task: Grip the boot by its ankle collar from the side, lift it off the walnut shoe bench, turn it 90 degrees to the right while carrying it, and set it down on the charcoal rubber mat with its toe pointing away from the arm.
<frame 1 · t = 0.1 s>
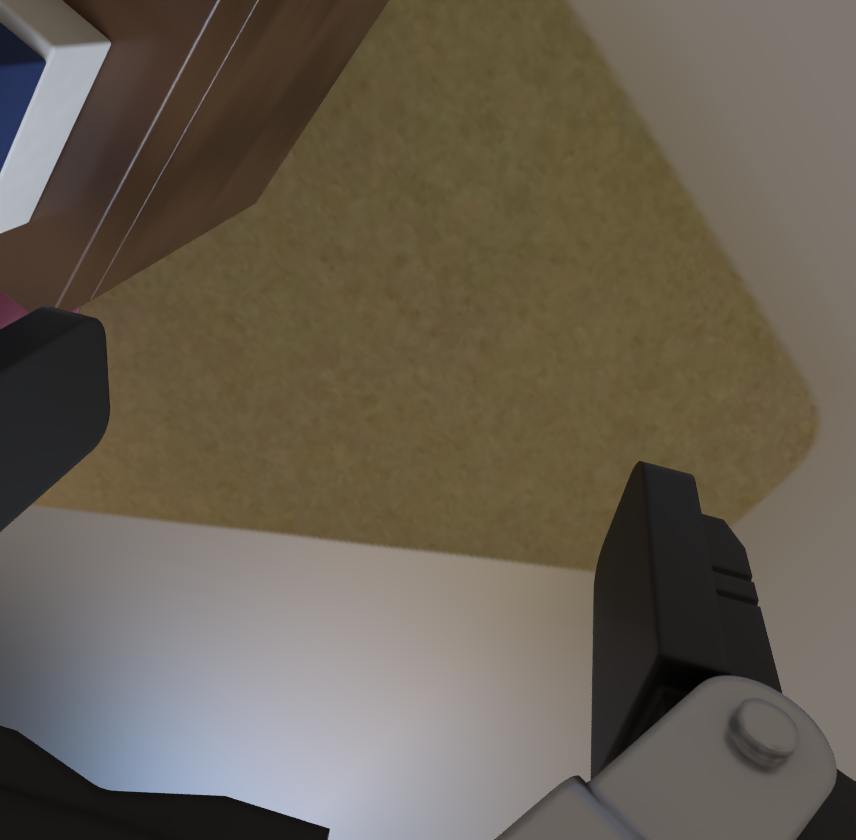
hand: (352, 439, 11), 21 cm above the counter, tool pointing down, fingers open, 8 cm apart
flower pot: (2, 257, 36), on the counter
boot: (50, 124, 17), point 14 cm above the counter, touching shoe bench
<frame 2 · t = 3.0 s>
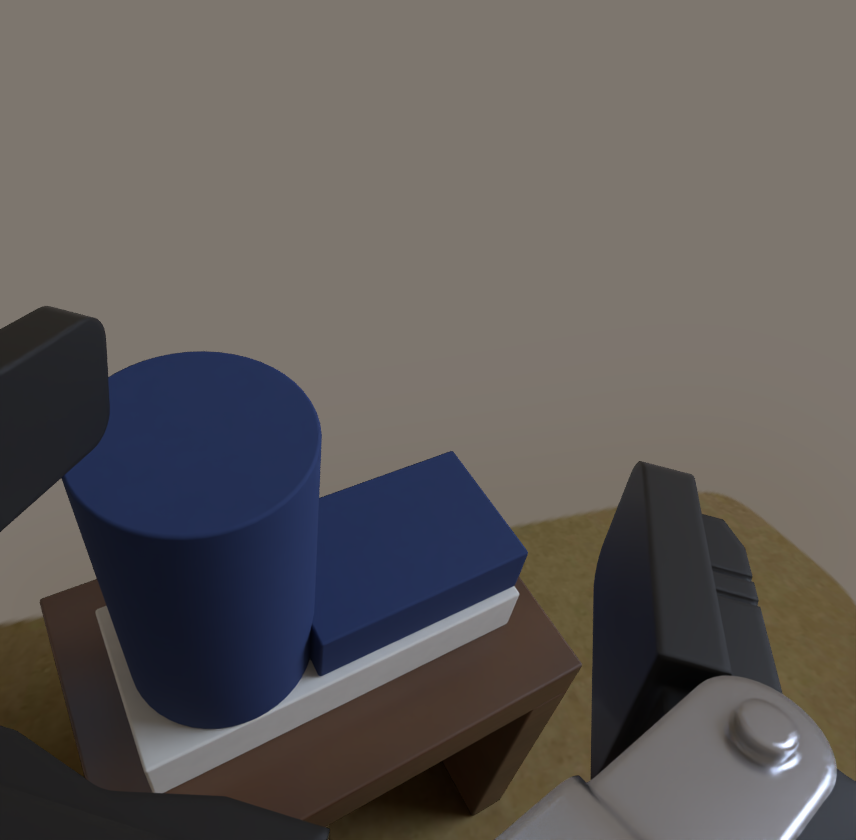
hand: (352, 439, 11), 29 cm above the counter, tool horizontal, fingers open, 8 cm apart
shoe bench: (309, 778, 34), on the counter
boot: (456, 570, 27), point 14 cm above the counter, touching shoe bench
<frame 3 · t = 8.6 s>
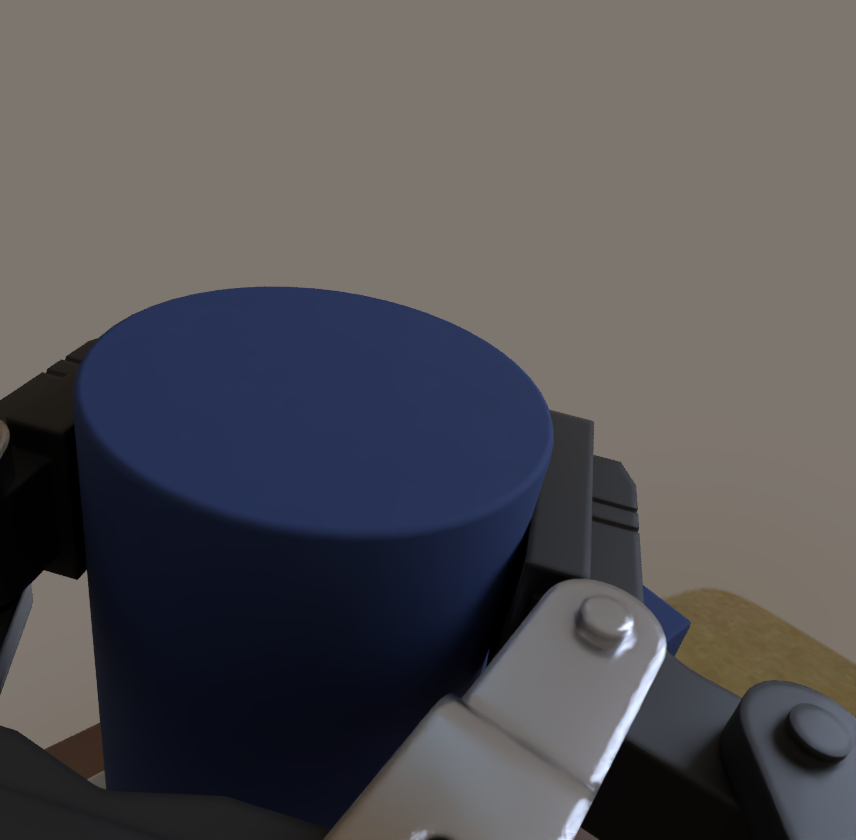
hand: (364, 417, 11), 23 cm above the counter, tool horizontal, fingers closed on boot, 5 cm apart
boot: (552, 678, 19), point 14 cm above the counter, touching gripper, shoe bench
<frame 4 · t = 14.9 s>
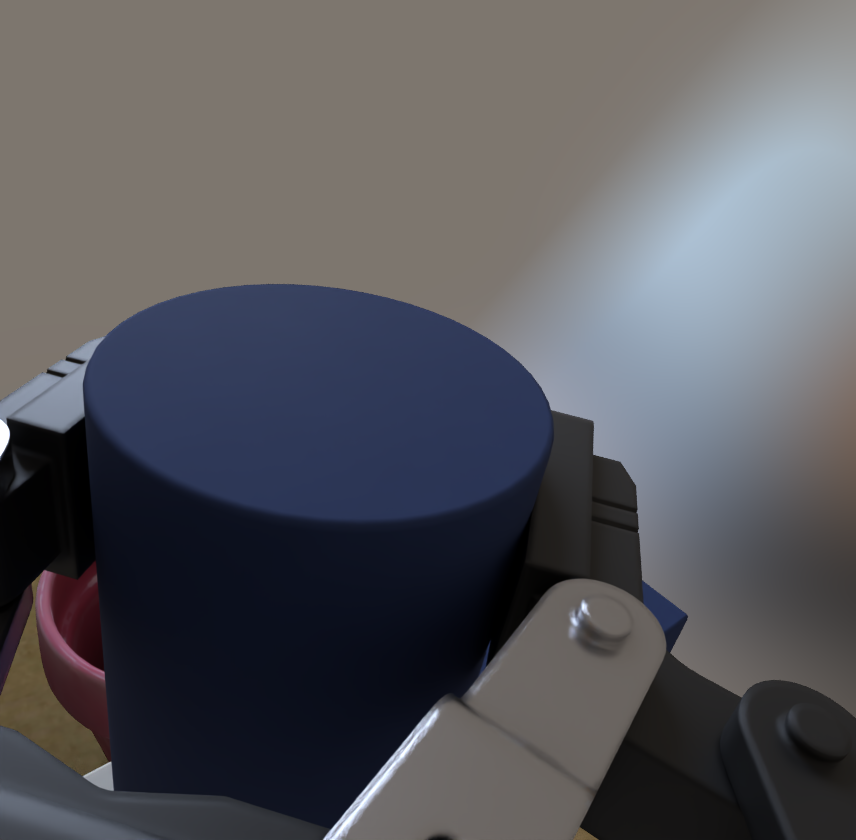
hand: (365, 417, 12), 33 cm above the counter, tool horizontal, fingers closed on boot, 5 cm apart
flower pot: (198, 738, 42), on the counter
boot: (551, 672, 20), point 24 cm above the counter, touching gripper
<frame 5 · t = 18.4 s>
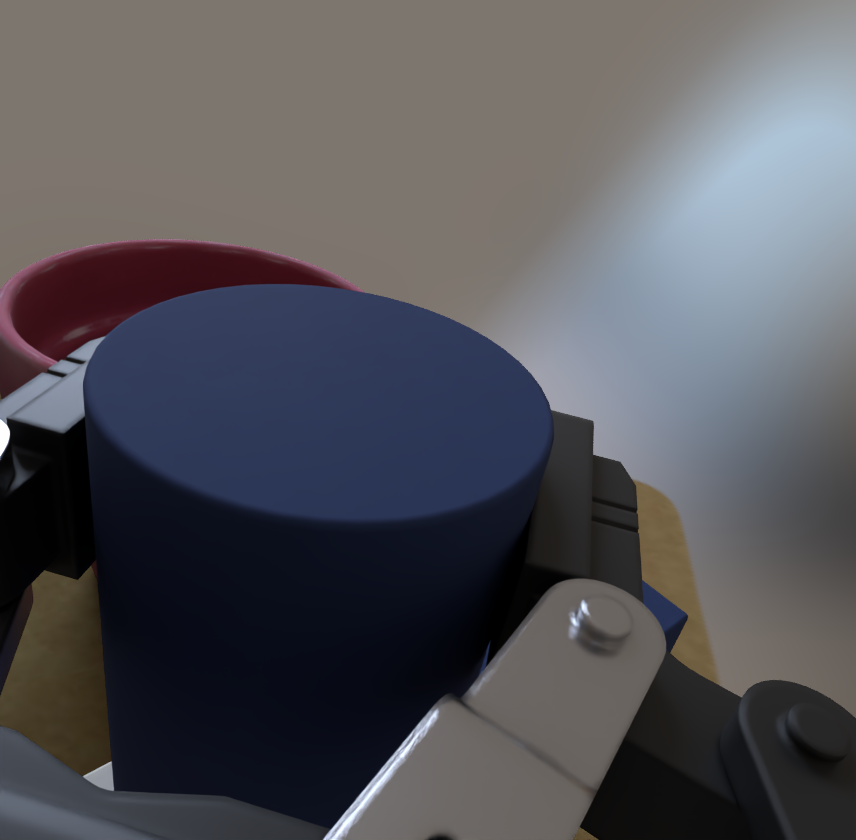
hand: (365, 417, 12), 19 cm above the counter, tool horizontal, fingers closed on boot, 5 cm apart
flower pot: (200, 555, 35), on the counter
boot: (551, 672, 20), point 10 cm above the counter, touching gripper
when the fingers open (10 cm above the counter, at t = 21.4 s): boot stays where it is, resting on shoe mat.
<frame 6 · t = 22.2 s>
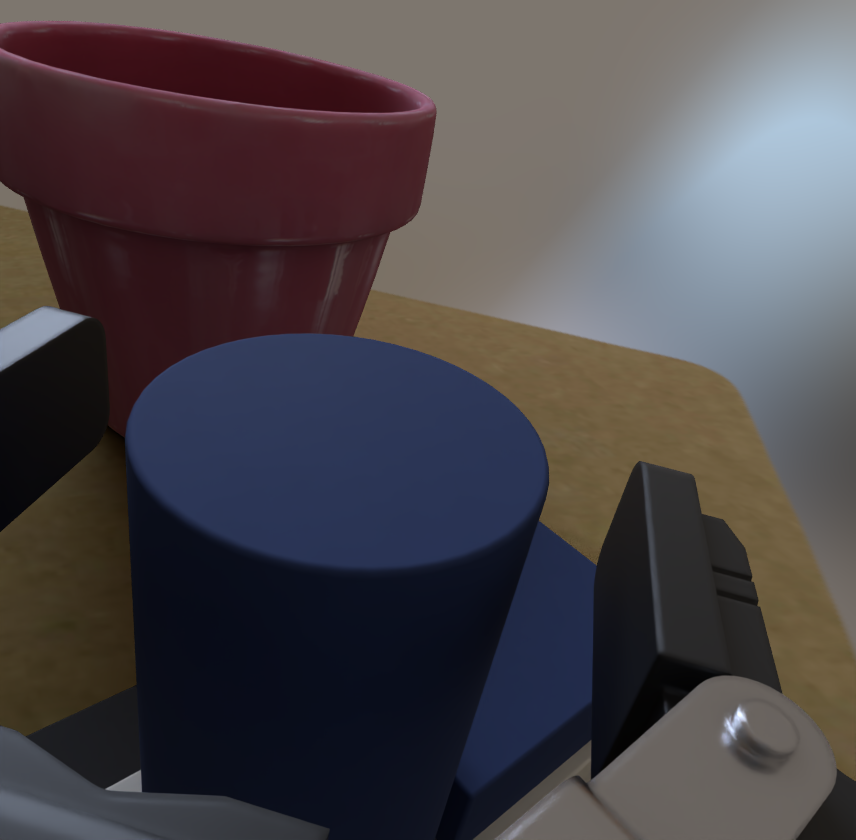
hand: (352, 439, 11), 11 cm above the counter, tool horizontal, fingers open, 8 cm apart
flower pot: (214, 401, 31), on the counter
boot: (551, 684, 20), point 1 cm above the counter, touching shoe mat
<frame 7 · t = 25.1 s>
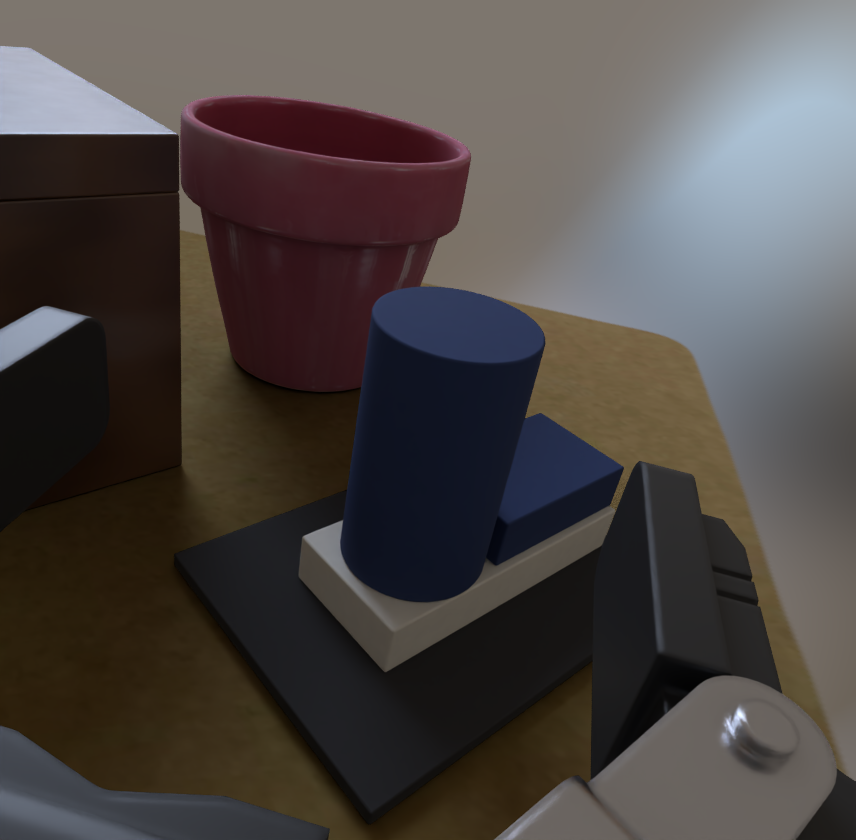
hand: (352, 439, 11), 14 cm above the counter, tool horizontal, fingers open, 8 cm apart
flower pot: (310, 356, 43), on the counter
shoe mat: (438, 583, 29), on the counter
shoe bench: (3, 409, 34), on the counter
boot: (549, 515, 33), point 1 cm above the counter, touching shoe mat
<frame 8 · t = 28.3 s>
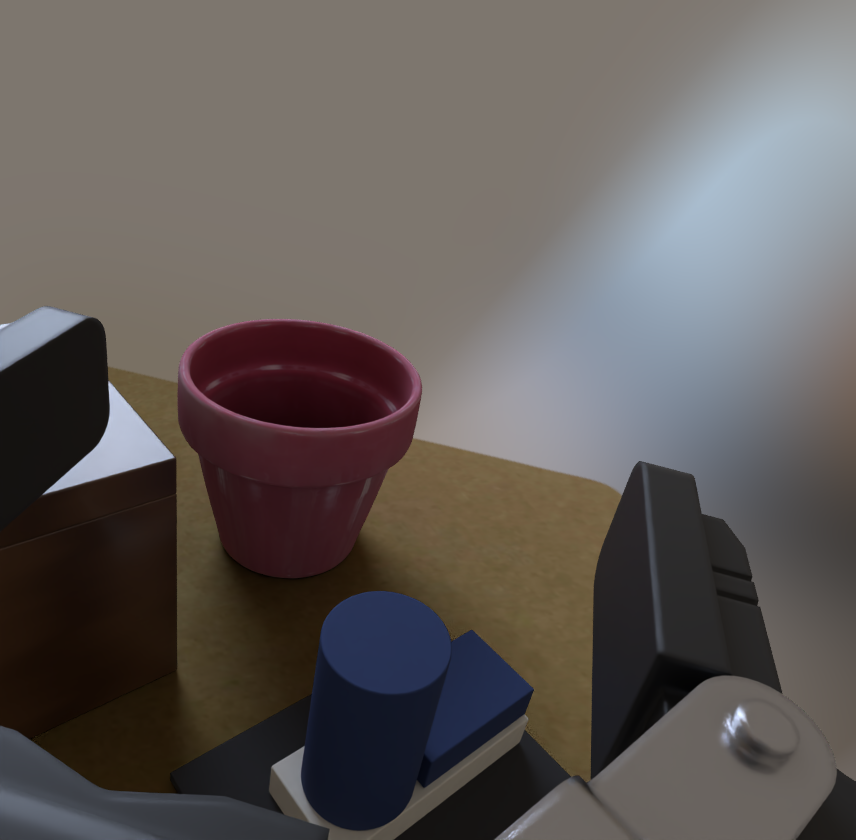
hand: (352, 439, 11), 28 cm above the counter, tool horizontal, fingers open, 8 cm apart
flower pot: (288, 533, 50), on the counter
shoe mat: (382, 786, 36), on the counter
shoe bench: (29, 616, 41), on the counter
boot: (479, 711, 40), point 1 cm above the counter, touching shoe mat
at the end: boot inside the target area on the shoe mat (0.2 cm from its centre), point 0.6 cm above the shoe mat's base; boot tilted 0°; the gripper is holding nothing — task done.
